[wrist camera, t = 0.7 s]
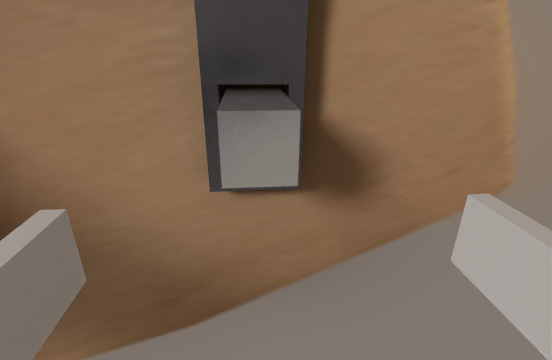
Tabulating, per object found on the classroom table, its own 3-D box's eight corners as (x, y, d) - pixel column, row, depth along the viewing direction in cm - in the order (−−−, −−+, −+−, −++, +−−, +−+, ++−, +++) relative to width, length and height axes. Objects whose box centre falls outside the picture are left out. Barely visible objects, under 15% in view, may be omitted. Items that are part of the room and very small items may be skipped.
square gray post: (229, 139, 31) (221, 188, 20) (226, 88, 29) (216, 111, 18) (278, 138, 32) (297, 185, 21) (279, 88, 30) (300, 110, 19)
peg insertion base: (212, 181, 33) (209, 192, 30) (184, -182, 22) (176, -212, 20) (296, 179, 34) (300, 189, 31) (309, -173, 23) (317, -200, 20)
